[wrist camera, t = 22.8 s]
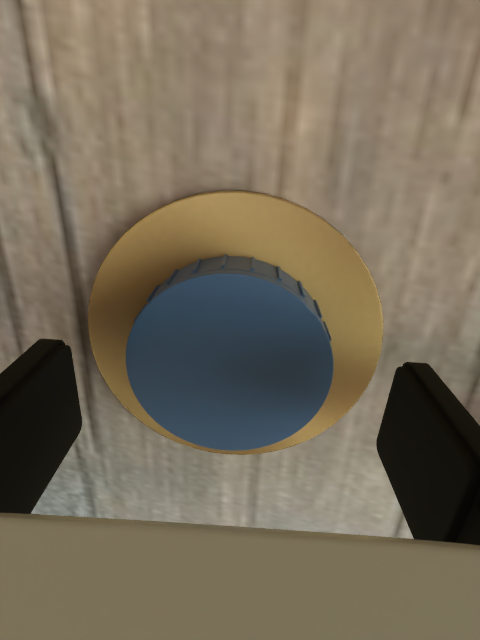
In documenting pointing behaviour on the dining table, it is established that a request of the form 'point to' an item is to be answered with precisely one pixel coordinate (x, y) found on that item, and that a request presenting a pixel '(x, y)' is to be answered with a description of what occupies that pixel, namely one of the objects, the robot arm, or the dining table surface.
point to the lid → (230, 354)
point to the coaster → (246, 241)
